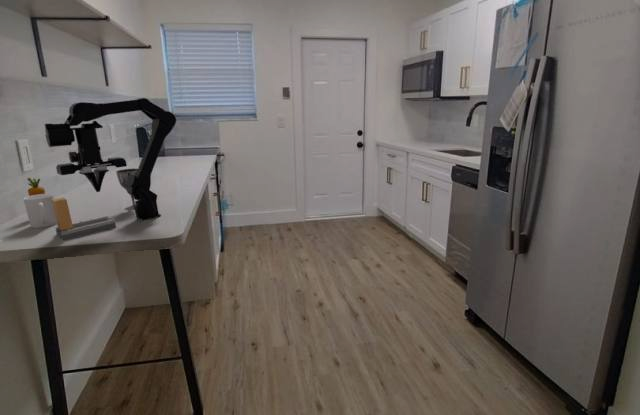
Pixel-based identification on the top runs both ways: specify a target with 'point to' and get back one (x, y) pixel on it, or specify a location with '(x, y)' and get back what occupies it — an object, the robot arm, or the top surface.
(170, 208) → the top surface
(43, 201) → the cup
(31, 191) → the carrot
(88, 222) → the rail
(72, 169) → the robot arm
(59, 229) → the fader tab
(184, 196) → the top surface
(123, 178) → the wine glass
